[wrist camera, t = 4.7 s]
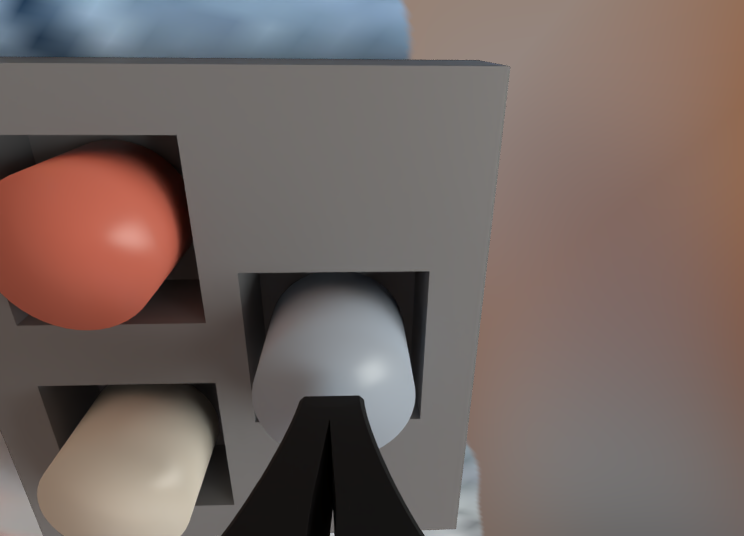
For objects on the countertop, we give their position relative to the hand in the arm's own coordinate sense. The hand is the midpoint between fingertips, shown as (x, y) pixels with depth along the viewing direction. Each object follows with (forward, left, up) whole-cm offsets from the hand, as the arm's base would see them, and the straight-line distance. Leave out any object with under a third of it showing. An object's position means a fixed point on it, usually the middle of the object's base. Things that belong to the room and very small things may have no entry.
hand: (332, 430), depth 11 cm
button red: (+3, +6, -5) cm, 9 cm away
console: (0, +3, -6) cm, 7 cm away
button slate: (0, 0, -4) cm, 4 cm away
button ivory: (-4, +6, -4) cm, 8 cm away
